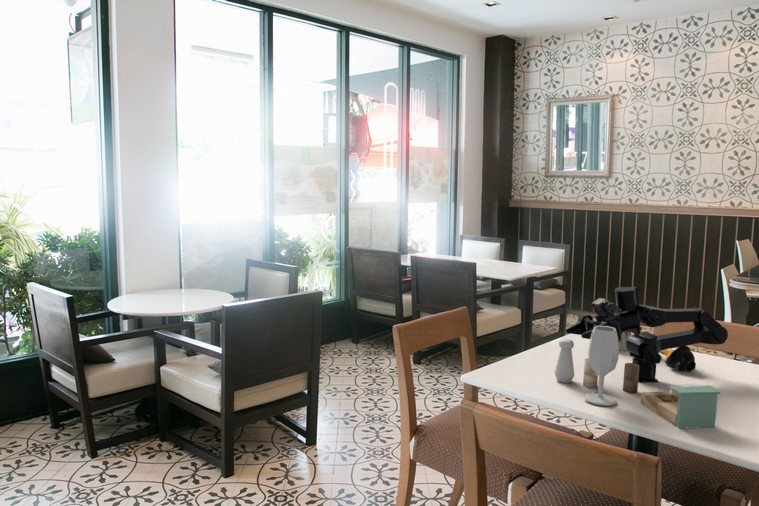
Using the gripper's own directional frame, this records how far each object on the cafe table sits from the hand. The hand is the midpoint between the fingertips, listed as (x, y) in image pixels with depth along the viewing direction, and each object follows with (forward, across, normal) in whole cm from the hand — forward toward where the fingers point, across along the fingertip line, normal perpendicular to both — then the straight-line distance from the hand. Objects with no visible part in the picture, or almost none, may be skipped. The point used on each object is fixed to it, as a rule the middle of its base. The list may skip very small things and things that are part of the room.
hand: (573, 333), depth 182 cm
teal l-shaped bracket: (-12, +32, +21) cm, 40 cm away
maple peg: (-2, +1, +16) cm, 17 cm away
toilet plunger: (-40, -13, +22) cm, 48 cm away
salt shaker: (+4, -4, +15) cm, 16 cm away
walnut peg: (-11, +7, +19) cm, 23 cm away
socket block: (-12, +24, +21) cm, 34 cm away
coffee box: (-34, -35, +19) cm, 52 cm away
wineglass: (+2, +13, +17) cm, 22 cm away
